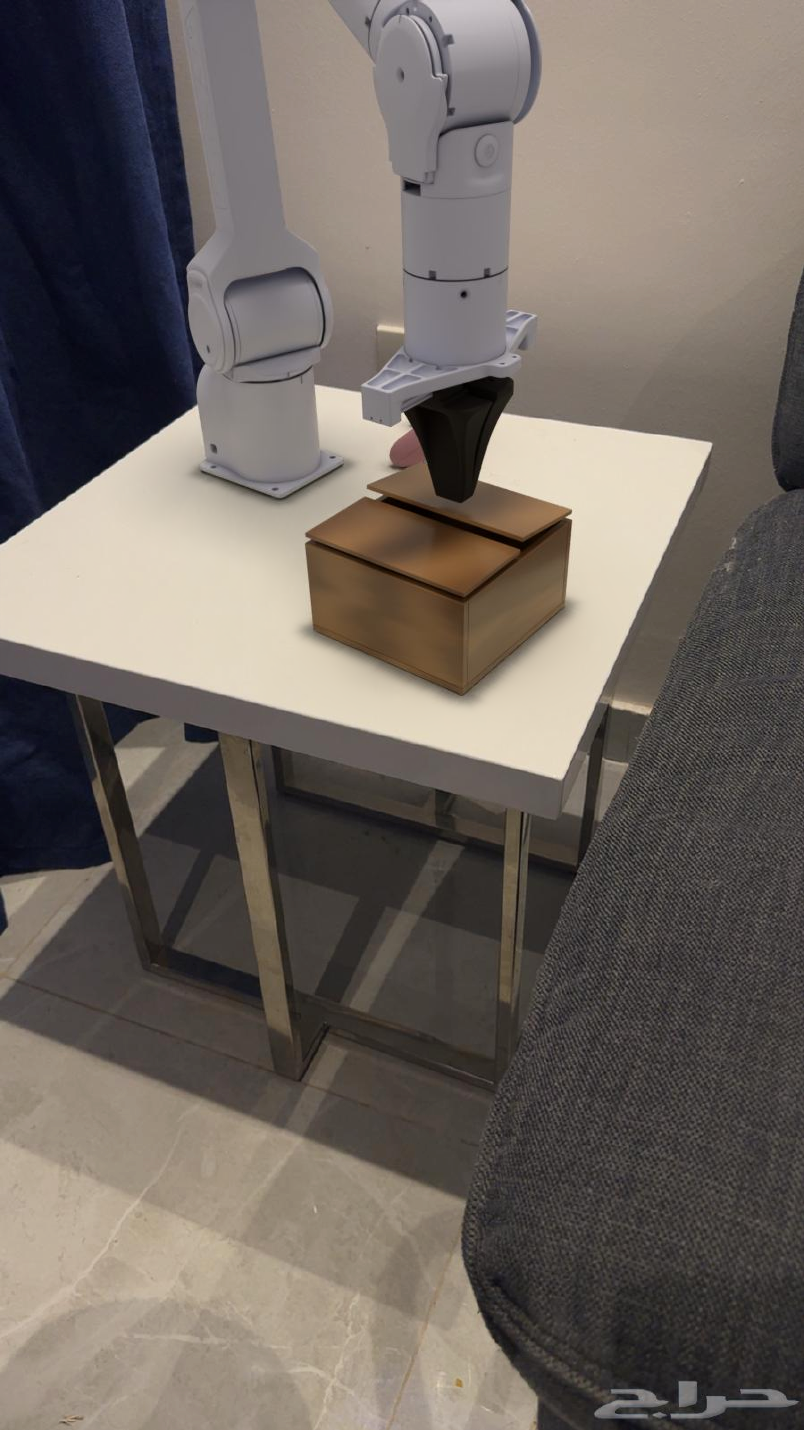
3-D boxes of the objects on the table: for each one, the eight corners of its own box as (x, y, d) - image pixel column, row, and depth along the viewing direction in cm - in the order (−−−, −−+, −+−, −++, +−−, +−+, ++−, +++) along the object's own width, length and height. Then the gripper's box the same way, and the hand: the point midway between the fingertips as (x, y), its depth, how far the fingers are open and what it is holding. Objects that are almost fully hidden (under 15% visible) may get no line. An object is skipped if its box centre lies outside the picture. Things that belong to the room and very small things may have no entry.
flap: (366, 489, 67) (366, 484, 67) (420, 466, 71) (420, 462, 70) (522, 542, 61) (523, 537, 61) (571, 514, 65) (572, 509, 65)
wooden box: (312, 629, 68) (303, 532, 63) (422, 553, 75) (420, 461, 71) (462, 695, 62) (463, 594, 57) (565, 606, 69) (573, 509, 65)
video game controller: (431, 489, 86) (470, 420, 82) (383, 463, 85) (419, 392, 81) (451, 439, 94) (487, 373, 89) (406, 415, 93) (441, 347, 88)
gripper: (435, 316, 49) (437, 563, 58) (588, 244, 58) (569, 468, 67) (324, 291, 53) (341, 528, 61) (484, 227, 61) (479, 442, 70)
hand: (454, 495), depth 64 cm, fingers closed
